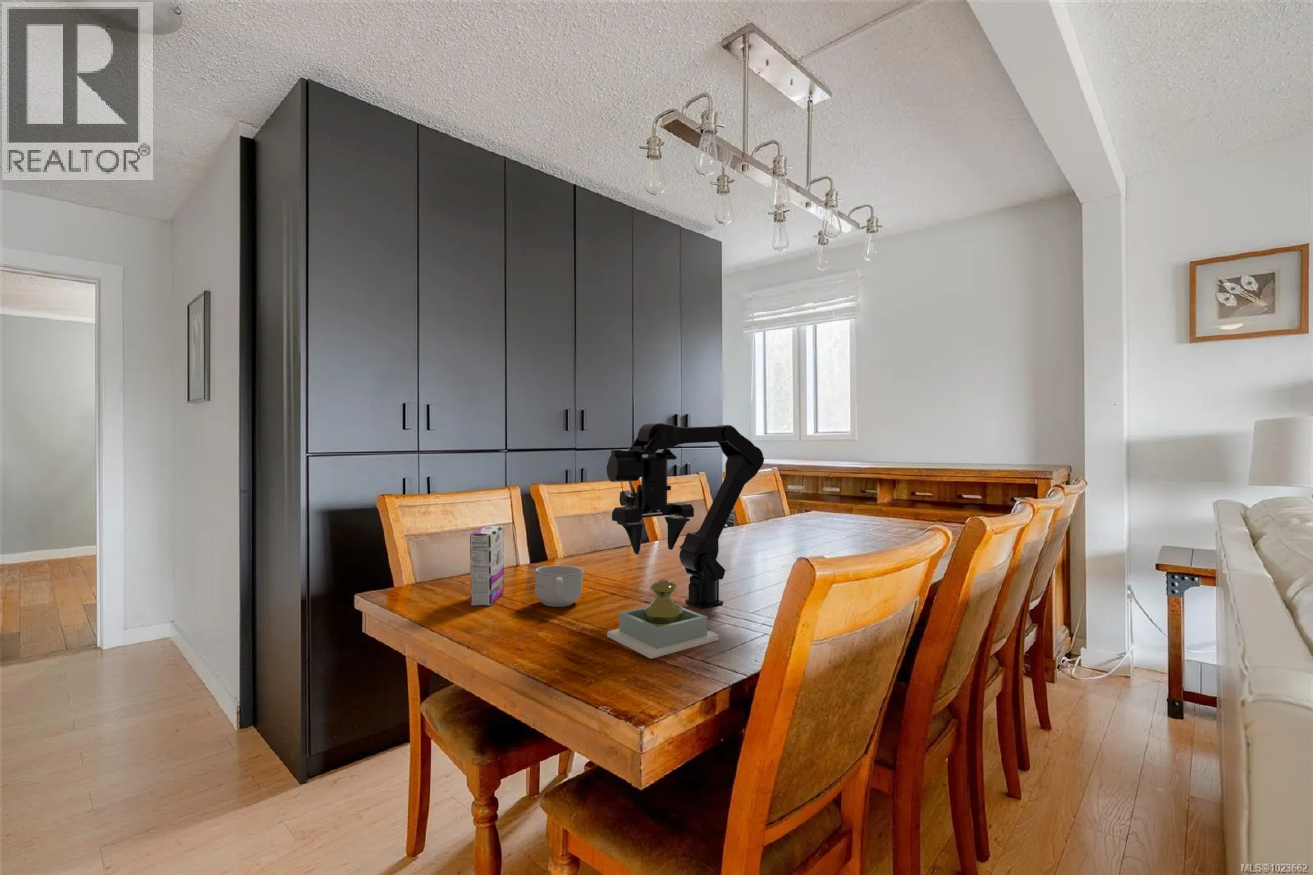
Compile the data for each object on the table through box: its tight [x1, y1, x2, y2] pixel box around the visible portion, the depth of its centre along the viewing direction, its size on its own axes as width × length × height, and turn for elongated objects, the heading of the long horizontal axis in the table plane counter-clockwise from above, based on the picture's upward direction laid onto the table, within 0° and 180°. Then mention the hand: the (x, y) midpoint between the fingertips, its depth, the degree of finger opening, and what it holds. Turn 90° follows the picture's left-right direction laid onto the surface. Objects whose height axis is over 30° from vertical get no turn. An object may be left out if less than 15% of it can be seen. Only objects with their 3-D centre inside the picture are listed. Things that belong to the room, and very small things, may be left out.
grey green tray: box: [607, 605, 720, 659], centre depth 114 cm, size 16×14×4 cm
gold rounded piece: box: [644, 579, 683, 626], centre depth 114 cm, size 7×7×10 cm
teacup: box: [534, 564, 584, 608], centre depth 135 cm, size 14×11×8 cm
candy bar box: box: [469, 525, 505, 607], centre depth 140 cm, size 11×5×16 cm, turn 179°
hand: (653, 551), depth 131 cm, fingers open, 9 cm apart
